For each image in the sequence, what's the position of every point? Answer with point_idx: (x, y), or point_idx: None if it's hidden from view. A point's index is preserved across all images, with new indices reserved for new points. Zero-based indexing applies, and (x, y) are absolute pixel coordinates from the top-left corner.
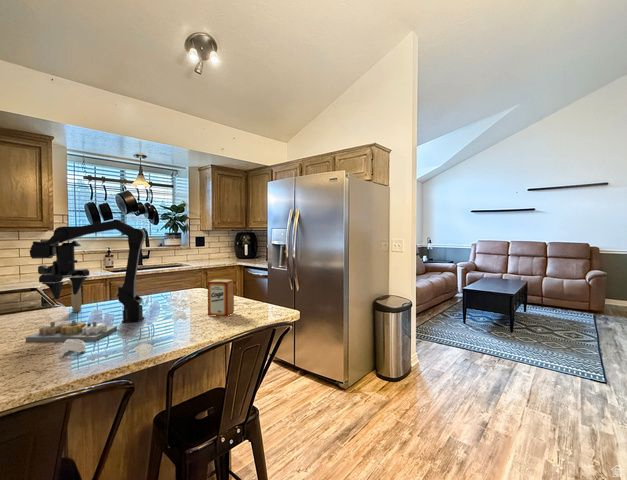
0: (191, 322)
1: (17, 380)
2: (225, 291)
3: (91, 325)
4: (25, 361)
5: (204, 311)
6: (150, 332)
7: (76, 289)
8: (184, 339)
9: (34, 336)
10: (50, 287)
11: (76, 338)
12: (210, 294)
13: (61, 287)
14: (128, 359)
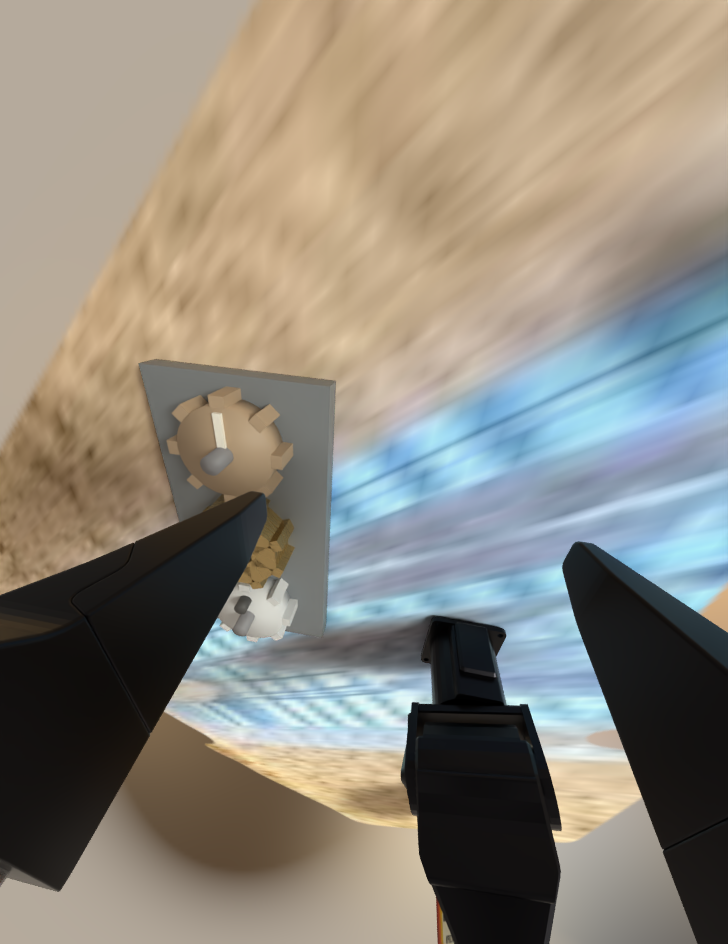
0: (391, 752)
1: None
2: (440, 927)
3: (254, 604)
4: (30, 505)
5: None
6: (300, 692)
7: (595, 638)
8: (251, 737)
9: (159, 402)
10: (26, 611)
11: None
12: None
13: (152, 711)
14: None
